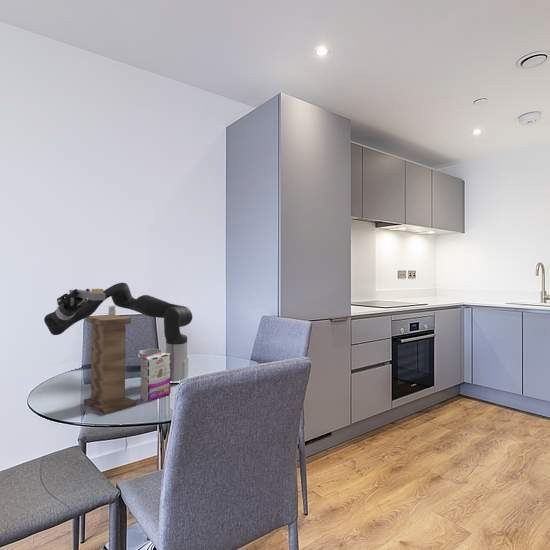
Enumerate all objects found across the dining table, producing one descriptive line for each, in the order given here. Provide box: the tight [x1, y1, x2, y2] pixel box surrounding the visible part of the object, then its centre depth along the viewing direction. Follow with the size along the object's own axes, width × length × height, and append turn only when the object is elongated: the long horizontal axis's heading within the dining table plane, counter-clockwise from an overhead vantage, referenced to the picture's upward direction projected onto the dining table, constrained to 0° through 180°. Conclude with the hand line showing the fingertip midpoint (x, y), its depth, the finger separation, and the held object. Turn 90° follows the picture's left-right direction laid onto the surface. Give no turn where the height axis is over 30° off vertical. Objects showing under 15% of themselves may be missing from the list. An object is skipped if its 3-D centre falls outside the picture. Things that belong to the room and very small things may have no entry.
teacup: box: [136, 348, 162, 365], centre depth 194 cm, size 14×11×8 cm
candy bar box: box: [140, 351, 172, 402], centre depth 150 cm, size 11×5×16 cm, turn 148°
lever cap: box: [68, 288, 107, 301], centre depth 153 cm, size 24×4×4 cm, turn 49°
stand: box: [83, 314, 138, 416], centre depth 141 cm, size 17×12×32 cm
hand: (82, 290), depth 156 cm, fingers closed on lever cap, 4 cm apart
